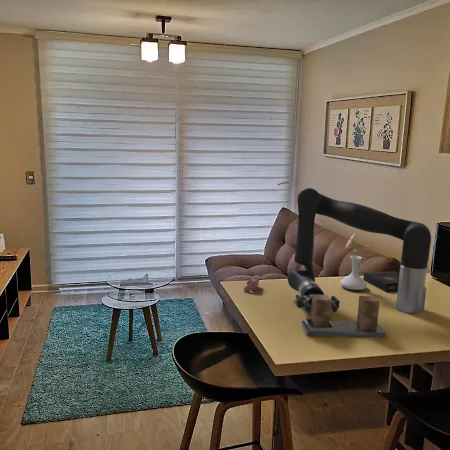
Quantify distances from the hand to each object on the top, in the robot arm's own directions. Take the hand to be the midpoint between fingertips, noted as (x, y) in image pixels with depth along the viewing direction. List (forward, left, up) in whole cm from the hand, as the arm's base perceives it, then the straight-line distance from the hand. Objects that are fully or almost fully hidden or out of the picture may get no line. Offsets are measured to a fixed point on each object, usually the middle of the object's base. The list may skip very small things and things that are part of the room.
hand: (322, 309), depth 152 cm
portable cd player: (-45, -53, -9) cm, 70 cm away
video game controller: (+18, -44, -8) cm, 48 cm away
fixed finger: (-16, -2, -7) cm, 17 cm away
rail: (-8, -2, -8) cm, 11 cm away
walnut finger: (0, -2, -6) cm, 7 cm away
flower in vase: (-26, -47, -8) cm, 54 cm away
